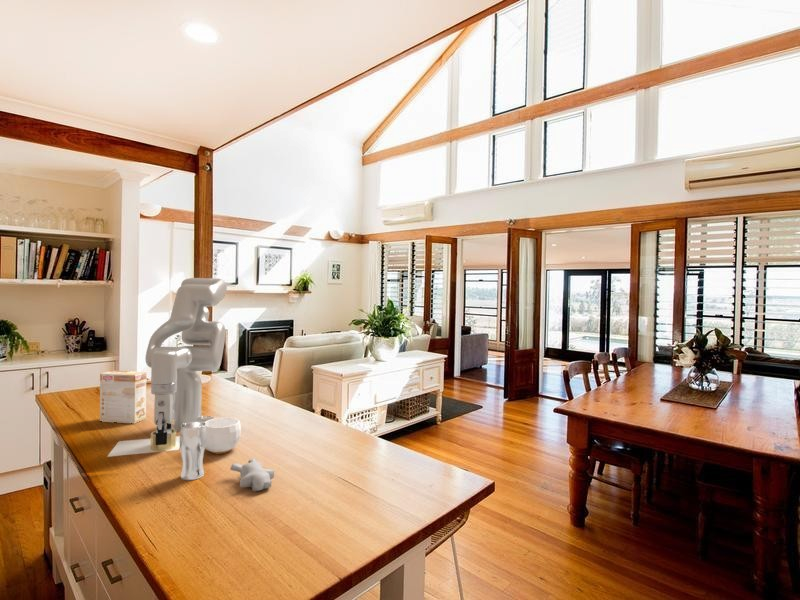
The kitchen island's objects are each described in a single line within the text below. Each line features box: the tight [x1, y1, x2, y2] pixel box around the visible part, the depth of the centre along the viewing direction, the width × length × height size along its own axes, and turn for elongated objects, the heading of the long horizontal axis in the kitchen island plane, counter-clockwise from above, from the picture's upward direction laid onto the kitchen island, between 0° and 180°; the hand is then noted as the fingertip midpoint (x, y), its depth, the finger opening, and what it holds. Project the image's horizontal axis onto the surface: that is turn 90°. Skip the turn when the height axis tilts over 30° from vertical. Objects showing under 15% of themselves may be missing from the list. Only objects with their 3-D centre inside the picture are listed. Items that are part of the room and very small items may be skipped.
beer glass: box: [179, 421, 206, 481], centre depth 124 cm, size 7×7×15 cm
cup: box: [205, 416, 242, 455], centre depth 143 cm, size 12×12×10 cm
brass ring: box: [150, 428, 177, 452], centre depth 142 cm, size 7×7×5 cm
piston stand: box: [106, 430, 180, 458], centre depth 143 cm, size 20×14×6 cm
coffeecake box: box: [99, 370, 147, 424], centre depth 171 cm, size 15×7×20 cm, turn 84°
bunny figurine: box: [229, 458, 275, 492], centre depth 121 cm, size 10×5×15 cm
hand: (163, 439), depth 142 cm, fingers open, 8 cm apart
